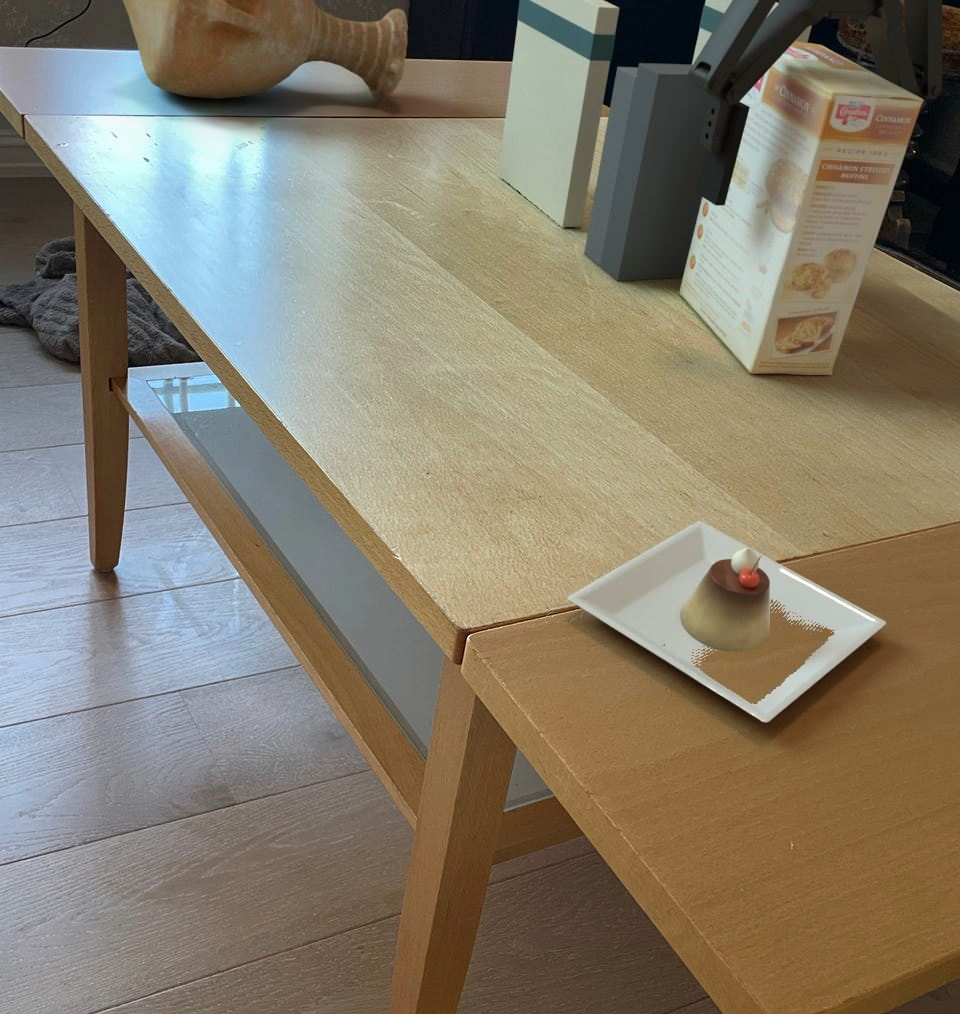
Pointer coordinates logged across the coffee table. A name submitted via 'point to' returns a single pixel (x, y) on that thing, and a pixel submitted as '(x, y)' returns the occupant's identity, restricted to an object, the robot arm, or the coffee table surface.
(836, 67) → the coffeecake box
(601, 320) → the coffee table surface
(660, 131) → the grey books
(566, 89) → the cream books
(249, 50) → the jug
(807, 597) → the dessert
